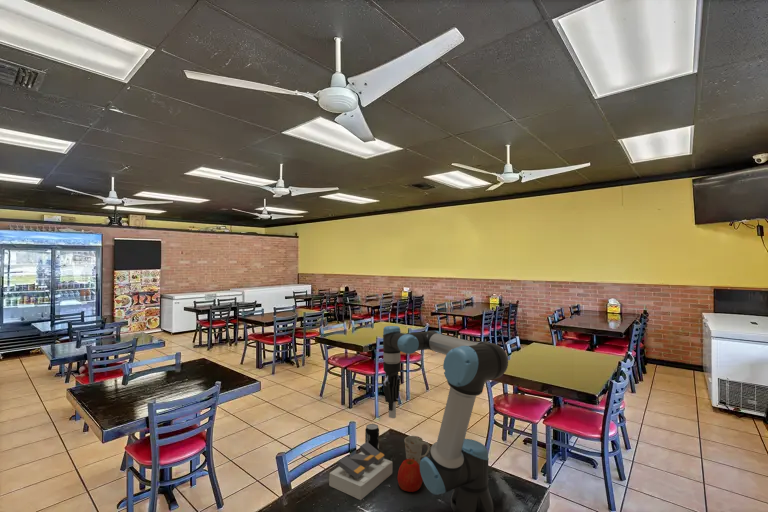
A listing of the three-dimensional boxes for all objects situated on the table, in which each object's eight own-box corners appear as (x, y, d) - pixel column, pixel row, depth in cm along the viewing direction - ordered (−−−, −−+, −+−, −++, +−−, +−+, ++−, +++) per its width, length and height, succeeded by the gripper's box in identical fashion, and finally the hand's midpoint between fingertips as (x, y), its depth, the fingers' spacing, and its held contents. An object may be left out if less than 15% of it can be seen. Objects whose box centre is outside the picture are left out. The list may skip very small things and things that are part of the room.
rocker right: (383, 459, 155) (384, 455, 155) (377, 464, 152) (378, 459, 151) (365, 445, 161) (367, 441, 160) (359, 449, 157) (360, 445, 157)
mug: (401, 459, 166) (401, 437, 166) (424, 454, 171) (424, 432, 171) (409, 468, 158) (410, 445, 159) (434, 462, 164) (434, 440, 164)
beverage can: (377, 456, 169) (377, 429, 169) (363, 454, 170) (363, 428, 171) (380, 449, 175) (380, 424, 176) (367, 447, 177) (367, 422, 177)
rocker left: (364, 473, 144) (365, 468, 143) (356, 479, 140) (357, 473, 140) (345, 460, 149) (346, 455, 149) (337, 465, 145) (338, 460, 145)
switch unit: (392, 473, 154) (392, 457, 155) (360, 500, 136) (360, 482, 137) (362, 462, 163) (362, 447, 164) (329, 485, 145) (329, 468, 146)
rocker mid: (375, 461, 149) (374, 455, 150) (368, 466, 145) (367, 460, 146) (356, 458, 155) (355, 452, 155) (349, 463, 151) (348, 457, 151)
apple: (424, 482, 149) (424, 455, 149) (420, 497, 139) (420, 469, 139) (400, 477, 151) (400, 452, 152) (394, 492, 141) (394, 464, 142)
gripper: (392, 358, 166) (392, 411, 164) (376, 363, 155) (376, 420, 153) (406, 360, 162) (407, 414, 160) (391, 365, 151) (392, 424, 149)
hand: (392, 417), depth 157 cm, fingers closed
